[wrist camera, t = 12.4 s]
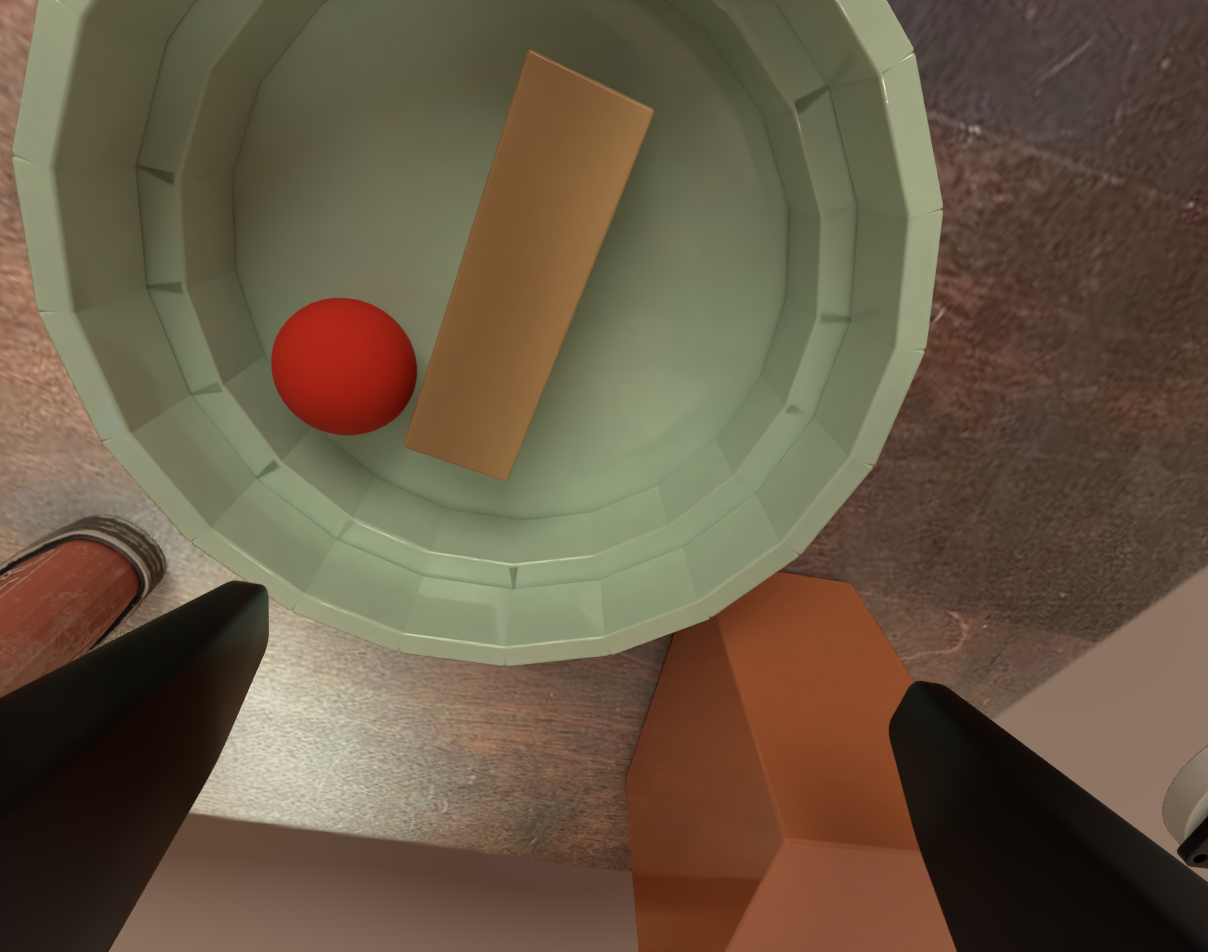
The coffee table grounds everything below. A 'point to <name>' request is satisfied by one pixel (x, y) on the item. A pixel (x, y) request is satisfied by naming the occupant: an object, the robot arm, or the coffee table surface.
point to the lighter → (71, 594)
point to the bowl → (426, 278)
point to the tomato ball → (344, 366)
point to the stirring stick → (526, 263)
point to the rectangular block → (778, 785)
